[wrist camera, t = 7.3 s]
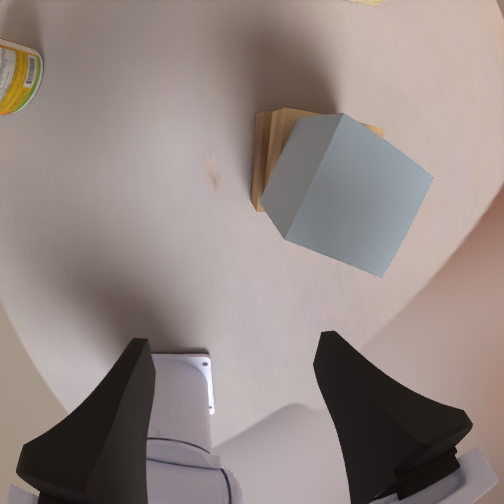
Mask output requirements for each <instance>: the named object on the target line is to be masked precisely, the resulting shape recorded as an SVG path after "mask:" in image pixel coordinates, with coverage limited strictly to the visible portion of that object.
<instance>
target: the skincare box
mask: <svg viewBox="0 0 504 504" xmlns="http://www.w3.org/2000/svg"><path fill="white" fill-rule="evenodd" d="M349 1H353V2H358V3H362V4H367V5H371V6H377V5H379V4H380V3H382V2H384V1H386V0H349Z"/></svg>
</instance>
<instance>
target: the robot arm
mask: <svg viewBox="0 0 504 504" xmlns="http://www.w3.org/2000/svg"><path fill="white" fill-rule="evenodd" d="M203 362H207V363H203ZM313 367H314V371H315V375H316V379H317V382H318V385H319V388H320V391H321V393H322V396H323V398H324V400H325V403H326V405H327V408H328V410H329V413H330V415H331V417H332V420H333V422H334V425H335V428H336V430H337V434H338V438H339V441H340V445H341V449H342V453H343V458H344V462H345V467H346V473H347V478H348V484H349V492H350V500H351V504H472V503H473V502H475V501H476V500H477V499H478V498H480V497H481V496H482V495H483V494H485V493H486V492H487V491H488V490H489V489H490V488H492V487H493V486H494V485H495V484H496V483H497V482H498V479H497V477H496V475H495V473H494V471H493V469H492V468H491V466H490V464H489V462H488V460H487V459H486V457H485V455H484V454H483V452H482V450H481V449H480V447H479V445H476V446H475V447H473V448H472V449H470V450H469V451H467V452H466V453H464V454H463V455H461V456H460V457H459V458H457V459H456V457H455V454H456V453H457V449H456V448H455V446H456V445H457V444H458V443H459V442H460V441H461V440H462V439H463V438H464V437H465V436H466V435H467V434H468V433H469V432H470V430H471V429H472V426H473V423H472V422H471V420H470V419H469V417H468V416H467V414H466V413H465V411H464V410H461V409H458V408H454V407H451V406H447V405H444V404H441V403H438V402H436V401H433V400H431V399H429V398H426V397H424V396H422V395H420V394H418V393H416V392H414V391H412V390H410V389H408V388H407V387H405V386H403V385H401V384H400V383H398V382H397V381H395V380H394V379H392V378H391V377H389V376H387V375H386V374H385V373H383V372H382V371H381V370H380V369H378V368H377V367H375V366H374V365H373V364H372V363H371V362H369V361H368V360H367V359H366V358H365V357H364V356H362V355H361V354H360V353H359V352H358V351H357V350H356V349H354V348H353V347H352V346H351V345H350V344H349V343H348V342H347V341H346V340H345V339H343V338H342V337H341V336H340V335H339V334H338V333H337V332H336V331H326V332H321V336H320V340H319V344H318V348H317V351H316V355H315V359H314V363H313ZM214 413H215V409H214V398H213V386H212V373H211V360H210V356H209V355H208V354H151V351H150V347H149V343H148V339H145V338H133V339H132V340H131V342H130V343H129V344H128V346H127V347H126V349H125V350H124V352H123V353H122V355H121V356H120V357H119V359H118V360H117V362H116V363H115V364H114V366H113V367H112V368H111V370H110V371H109V372H108V374H107V375H106V376H105V378H104V379H103V380H102V381H101V382H100V384H99V385H98V386H97V387H96V388H95V390H94V391H93V392H92V393H91V394H90V395H89V396H88V397H87V398H86V399H85V400H84V401H83V402H82V403H81V404H80V405H79V406H78V407H77V408H76V409H75V410H74V411H73V412H72V413H71V414H70V415H68V416H67V417H66V418H65V419H64V420H62V421H61V422H60V423H58V424H57V425H56V426H54V427H53V428H51V429H50V430H49V431H47V432H46V433H44V434H42V435H41V436H39V437H37V438H35V439H34V440H32V441H30V442H28V443H26V444H24V445H23V448H22V451H21V454H20V458H19V461H18V465H17V469H16V473H17V475H18V476H19V477H20V478H21V479H23V480H24V481H25V482H27V483H28V484H30V485H31V486H32V487H34V488H35V489H37V490H38V491H40V494H39V497H38V496H36V495H34V494H32V493H30V492H28V491H25V490H23V489H21V488H19V487H17V486H14V485H10V487H9V492H8V497H7V502H6V504H243V499H242V491H241V487H240V484H239V482H238V480H237V478H236V477H235V476H234V474H233V473H232V472H231V470H230V469H228V468H226V467H221V463H220V456H216V455H212V443H211V428H210V415H211V414H214Z"/></svg>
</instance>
